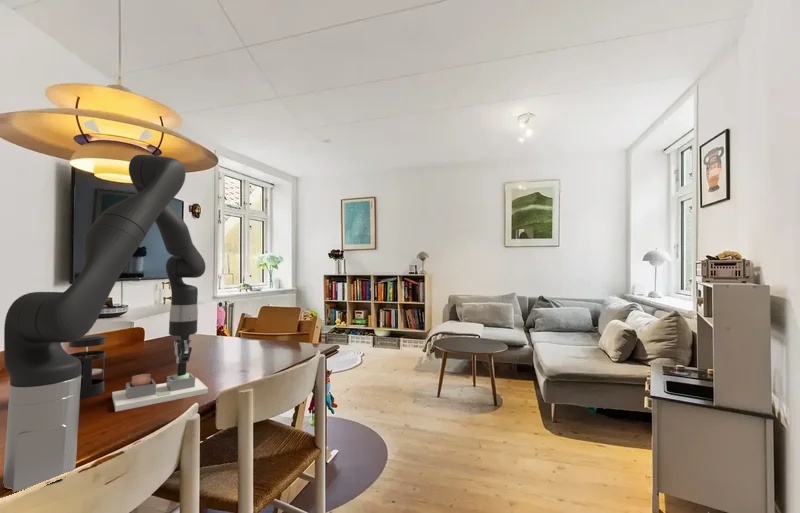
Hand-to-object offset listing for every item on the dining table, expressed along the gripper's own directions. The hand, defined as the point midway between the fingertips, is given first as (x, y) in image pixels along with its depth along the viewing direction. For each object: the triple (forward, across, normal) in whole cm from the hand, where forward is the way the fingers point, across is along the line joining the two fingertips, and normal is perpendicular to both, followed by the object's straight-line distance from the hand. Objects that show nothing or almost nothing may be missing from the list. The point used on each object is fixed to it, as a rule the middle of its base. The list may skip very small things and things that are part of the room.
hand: (181, 374), depth 108 cm
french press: (+5, +15, +22) cm, 27 cm away
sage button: (+3, 0, 0) cm, 3 cm away
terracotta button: (+1, 0, +10) cm, 10 cm away
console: (+5, 0, +5) cm, 7 cm away
